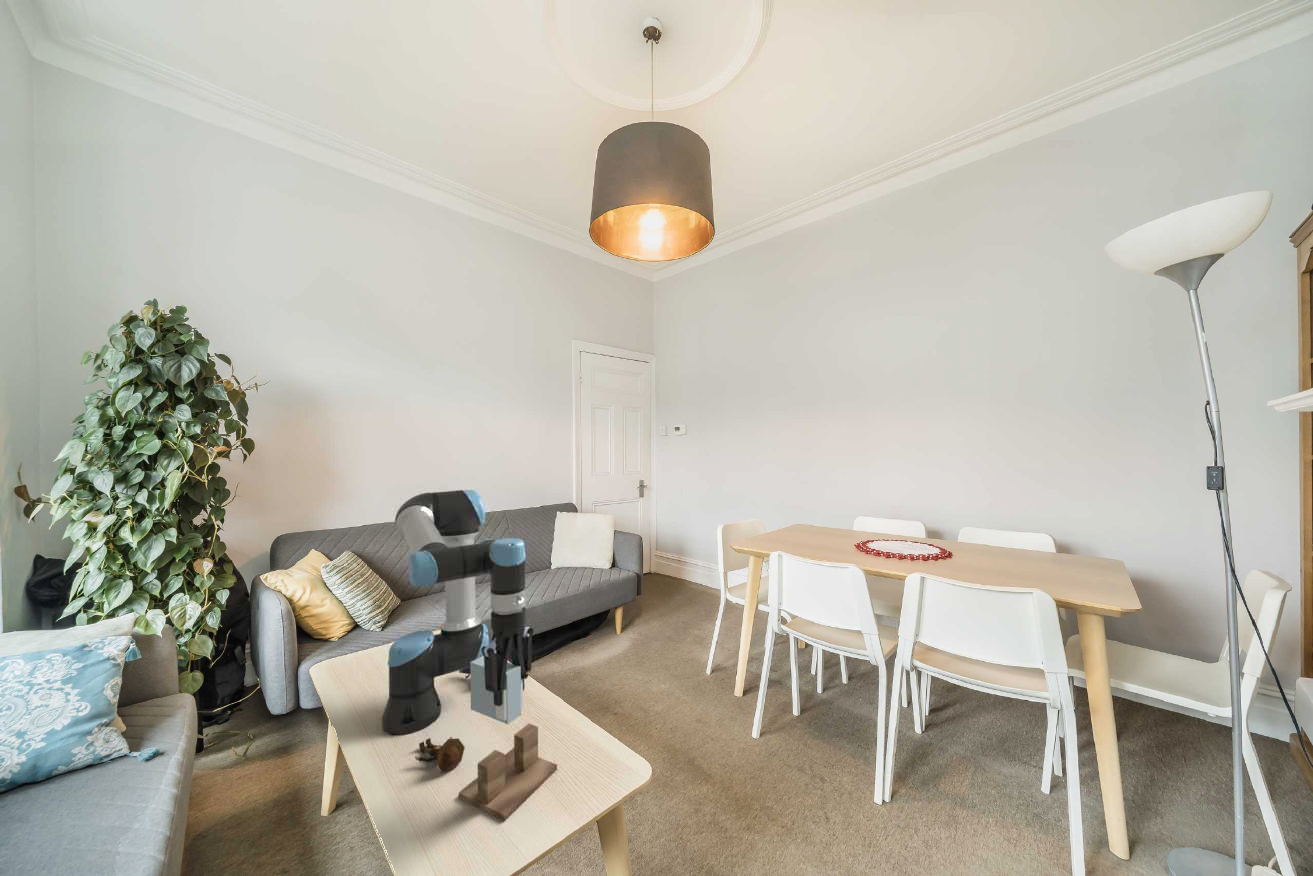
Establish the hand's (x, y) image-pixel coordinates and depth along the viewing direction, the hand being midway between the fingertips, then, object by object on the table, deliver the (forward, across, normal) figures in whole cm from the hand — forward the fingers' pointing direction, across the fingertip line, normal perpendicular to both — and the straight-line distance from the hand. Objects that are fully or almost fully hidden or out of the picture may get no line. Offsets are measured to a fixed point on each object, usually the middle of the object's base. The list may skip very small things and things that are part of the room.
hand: (509, 712), depth 105 cm
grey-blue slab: (+1, 0, +4) cm, 5 cm away
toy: (+19, 0, +25) cm, 32 cm away
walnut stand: (+19, +3, +3) cm, 19 cm away
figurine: (+19, +29, +48) cm, 59 cm away
